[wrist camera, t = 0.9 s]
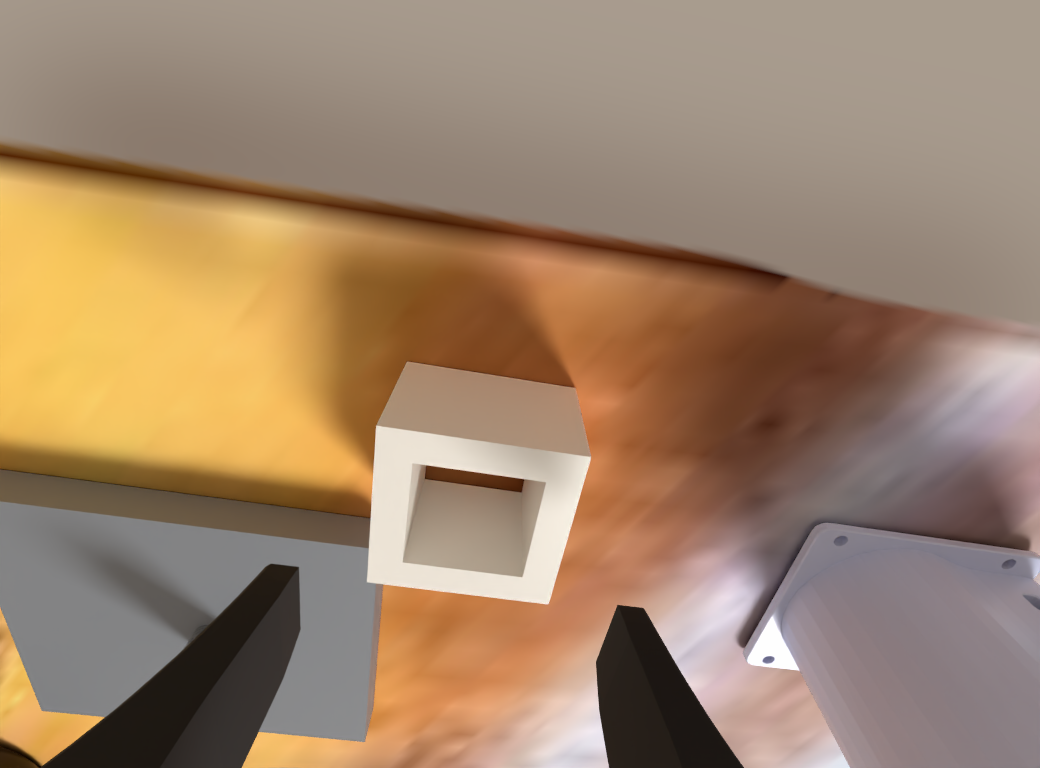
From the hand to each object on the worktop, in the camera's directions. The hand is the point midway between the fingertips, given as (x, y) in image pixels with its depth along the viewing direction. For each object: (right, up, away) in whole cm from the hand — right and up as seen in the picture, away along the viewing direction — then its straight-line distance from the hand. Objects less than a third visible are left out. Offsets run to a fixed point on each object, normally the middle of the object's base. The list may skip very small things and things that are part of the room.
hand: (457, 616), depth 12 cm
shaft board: (-12, -4, +10) cm, 16 cm away
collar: (0, +3, +6) cm, 7 cm away
